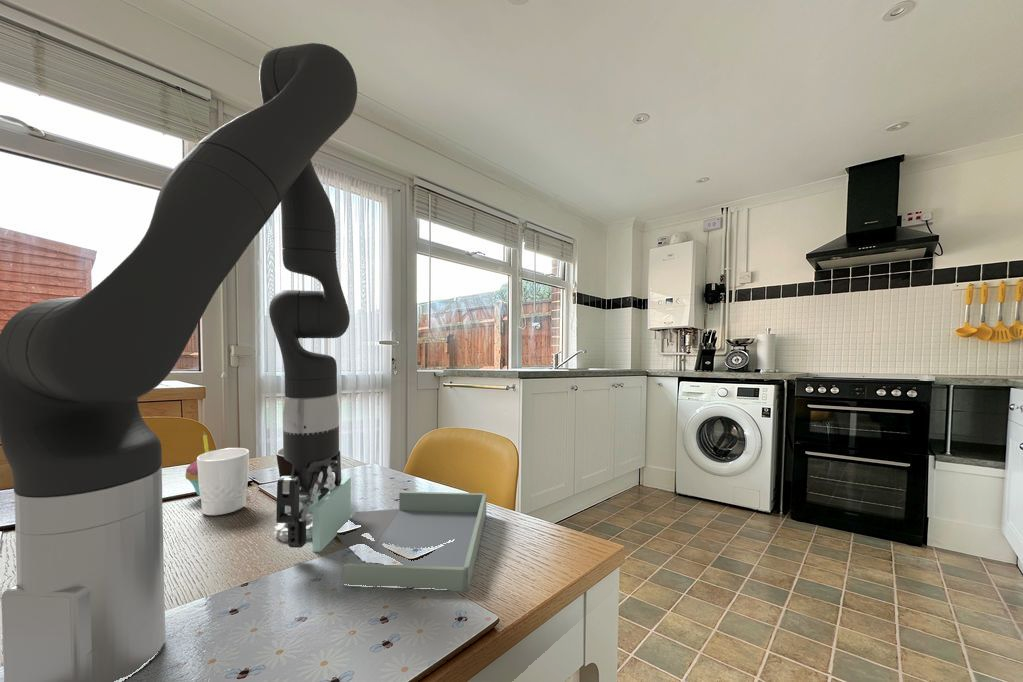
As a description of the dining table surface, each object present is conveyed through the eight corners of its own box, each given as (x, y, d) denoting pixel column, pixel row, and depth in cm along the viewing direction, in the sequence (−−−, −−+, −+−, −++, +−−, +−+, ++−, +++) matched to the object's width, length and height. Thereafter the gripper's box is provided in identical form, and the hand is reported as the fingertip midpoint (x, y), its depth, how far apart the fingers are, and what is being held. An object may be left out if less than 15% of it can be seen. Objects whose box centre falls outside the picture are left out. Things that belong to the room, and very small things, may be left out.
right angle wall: (282, 518, 72) (282, 476, 72) (350, 518, 73) (350, 476, 72) (237, 556, 60) (237, 506, 60) (319, 557, 61) (319, 507, 60)
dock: (467, 608, 51) (467, 570, 51) (280, 601, 52) (279, 563, 52) (486, 519, 74) (486, 493, 74) (356, 516, 75) (356, 490, 75)
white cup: (188, 511, 74) (187, 456, 74) (234, 495, 81) (234, 445, 81) (212, 521, 71) (211, 463, 70) (258, 503, 78) (258, 451, 77)
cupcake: (174, 496, 81) (173, 435, 80) (217, 480, 89) (216, 425, 88) (206, 502, 78) (205, 439, 78) (247, 485, 86) (246, 429, 86)
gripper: (312, 438, 54) (313, 558, 55) (356, 414, 69) (356, 510, 69) (256, 437, 55) (258, 557, 55) (311, 414, 69) (312, 509, 69)
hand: (312, 531), depth 62 cm, fingers open, 8 cm apart
